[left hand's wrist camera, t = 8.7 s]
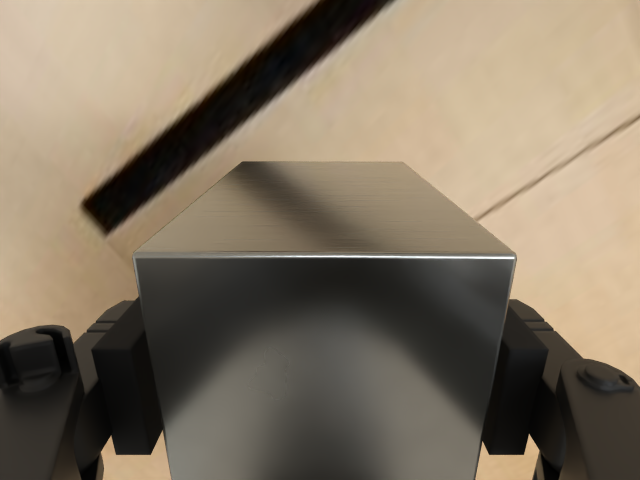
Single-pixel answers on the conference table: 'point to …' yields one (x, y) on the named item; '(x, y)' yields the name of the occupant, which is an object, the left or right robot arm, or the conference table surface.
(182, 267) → the box
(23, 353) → the left robot arm
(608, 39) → the conference table surface
